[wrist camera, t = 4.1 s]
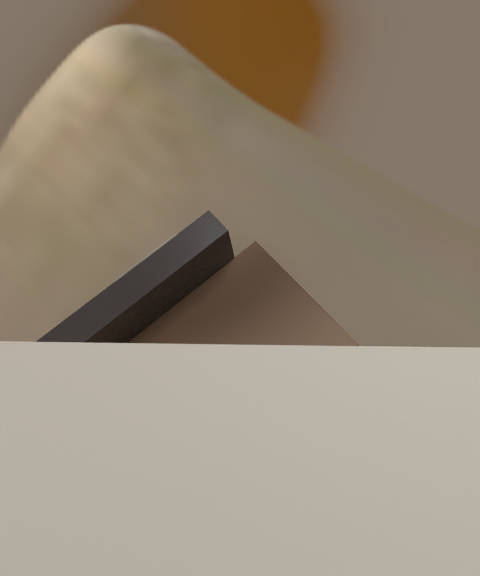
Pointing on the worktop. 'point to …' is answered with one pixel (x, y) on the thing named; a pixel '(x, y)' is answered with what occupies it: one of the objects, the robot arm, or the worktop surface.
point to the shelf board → (247, 310)
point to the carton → (238, 460)
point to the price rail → (150, 286)
